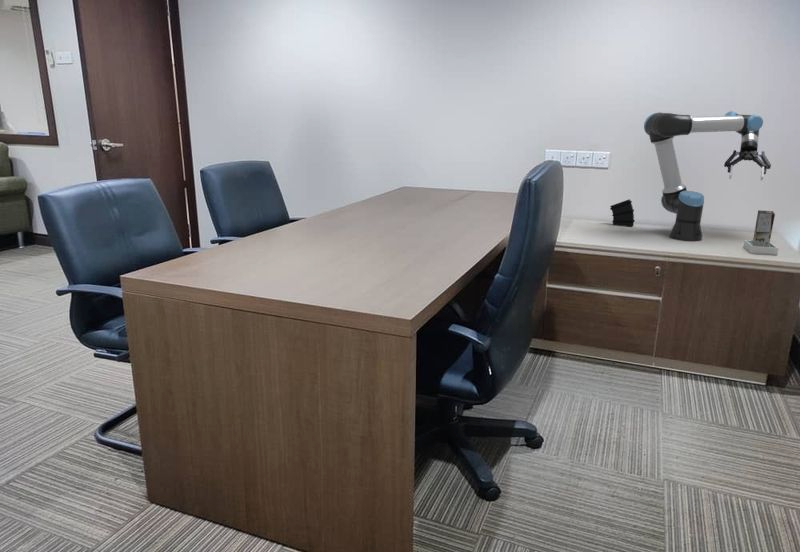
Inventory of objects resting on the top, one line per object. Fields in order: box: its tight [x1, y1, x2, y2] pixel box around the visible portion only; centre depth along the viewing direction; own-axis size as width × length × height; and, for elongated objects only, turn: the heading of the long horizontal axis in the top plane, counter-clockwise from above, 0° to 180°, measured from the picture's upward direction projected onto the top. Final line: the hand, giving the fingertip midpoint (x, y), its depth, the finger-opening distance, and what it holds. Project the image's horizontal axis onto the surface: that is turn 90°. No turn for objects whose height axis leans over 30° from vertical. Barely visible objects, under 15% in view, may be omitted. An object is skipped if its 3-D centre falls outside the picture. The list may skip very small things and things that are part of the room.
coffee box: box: [752, 210, 776, 247], centre depth 278 cm, size 9×6×16 cm
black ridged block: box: [610, 198, 635, 228], centre depth 336 cm, size 4×13×15 cm, turn 56°
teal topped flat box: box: [742, 239, 779, 256], centre depth 280 cm, size 11×14×4 cm
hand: (746, 177), depth 294 cm, fingers open, 13 cm apart
